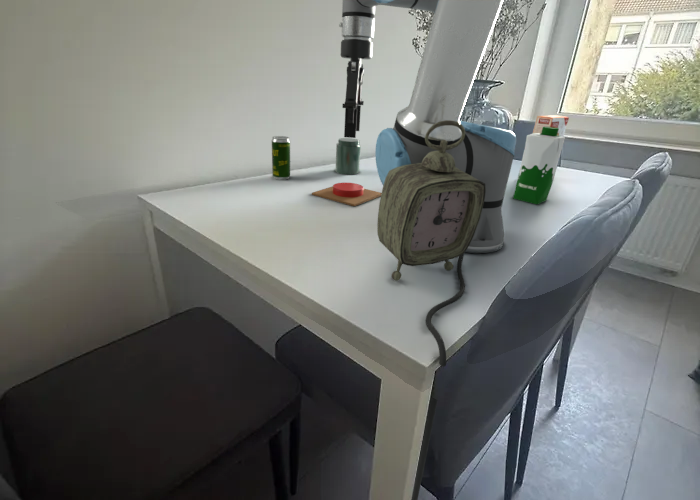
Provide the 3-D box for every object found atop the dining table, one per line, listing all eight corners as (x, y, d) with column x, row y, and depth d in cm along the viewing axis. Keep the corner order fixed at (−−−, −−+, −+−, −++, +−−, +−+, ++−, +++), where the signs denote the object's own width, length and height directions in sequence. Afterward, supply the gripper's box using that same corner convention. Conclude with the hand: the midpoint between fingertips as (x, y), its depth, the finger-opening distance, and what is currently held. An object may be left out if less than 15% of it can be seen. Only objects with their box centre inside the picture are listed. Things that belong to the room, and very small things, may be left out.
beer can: (283, 174, 123) (283, 135, 118) (293, 178, 119) (293, 138, 114) (269, 176, 119) (267, 136, 114) (278, 180, 116) (278, 139, 111)
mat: (354, 206, 98) (354, 204, 97) (311, 194, 105) (311, 192, 104) (382, 195, 108) (383, 193, 108) (342, 185, 115) (342, 183, 115)
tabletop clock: (390, 288, 61) (423, 128, 49) (365, 258, 68) (387, 111, 56) (462, 274, 67) (508, 128, 55) (432, 248, 74) (466, 113, 62)
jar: (350, 175, 126) (351, 142, 122) (330, 171, 130) (331, 139, 126) (363, 172, 132) (365, 140, 128) (344, 167, 136) (346, 137, 132)
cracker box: (537, 180, 135) (553, 117, 127) (520, 176, 139) (535, 115, 131) (553, 175, 144) (570, 116, 135) (537, 172, 148) (552, 114, 139)
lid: (340, 198, 101) (340, 191, 100) (327, 189, 108) (327, 183, 107) (368, 196, 105) (368, 189, 104) (354, 187, 111) (355, 181, 110)
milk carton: (550, 200, 113) (570, 129, 105) (539, 206, 107) (559, 131, 99) (521, 193, 119) (538, 125, 110) (508, 198, 113) (525, 126, 104)
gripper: (346, 43, 102) (342, 127, 111) (334, 33, 80) (331, 139, 88) (374, 45, 102) (369, 129, 111) (371, 34, 79) (364, 141, 88)
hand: (352, 134), depth 99 cm, fingers open, 13 cm apart
